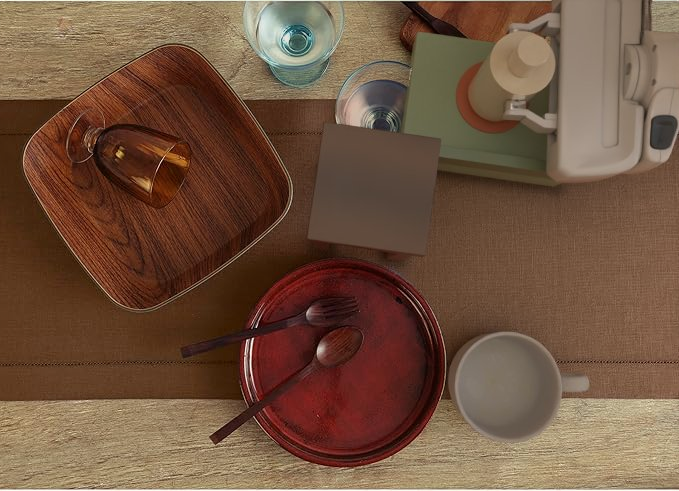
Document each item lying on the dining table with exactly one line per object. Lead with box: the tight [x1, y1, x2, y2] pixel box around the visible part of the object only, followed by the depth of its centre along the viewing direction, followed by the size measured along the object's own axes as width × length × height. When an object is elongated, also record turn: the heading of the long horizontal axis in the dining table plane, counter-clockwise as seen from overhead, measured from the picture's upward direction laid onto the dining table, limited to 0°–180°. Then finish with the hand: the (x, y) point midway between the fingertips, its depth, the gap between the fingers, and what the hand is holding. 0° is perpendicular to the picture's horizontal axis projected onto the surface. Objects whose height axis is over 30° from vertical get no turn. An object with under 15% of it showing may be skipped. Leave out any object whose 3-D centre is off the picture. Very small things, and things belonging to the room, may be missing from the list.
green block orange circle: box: [400, 31, 562, 188], centre depth 66 cm, size 14×18×7 cm
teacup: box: [447, 331, 590, 445], centre depth 64 cm, size 14×11×8 cm
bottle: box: [468, 31, 555, 122], centre depth 59 cm, size 6×6×12 cm
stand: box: [306, 121, 441, 261], centre depth 60 cm, size 10×10×18 cm
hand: (505, 72), depth 58 cm, fingers closed on bottle, 6 cm apart
